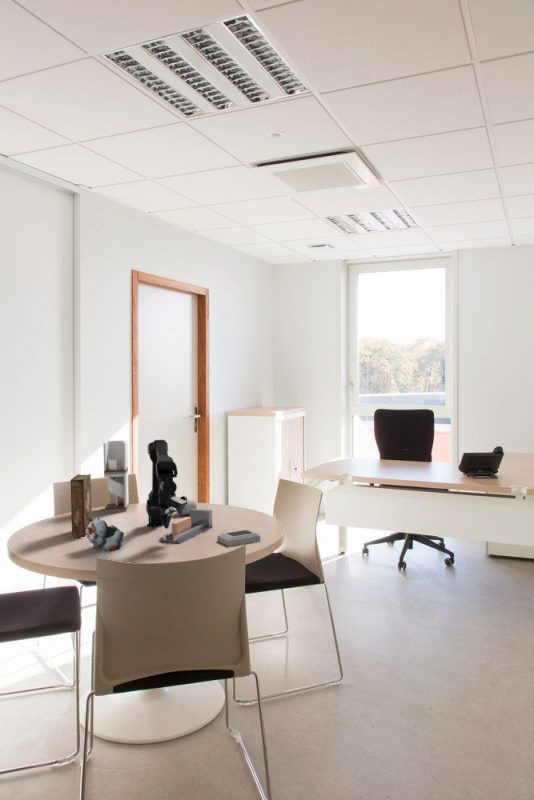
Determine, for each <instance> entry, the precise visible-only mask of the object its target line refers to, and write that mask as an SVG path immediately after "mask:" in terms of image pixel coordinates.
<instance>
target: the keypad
mask: <svg viewBox="0 0 534 800" xmlns="http://www.w3.org/2000/svg"><path fill="white" fill-rule="evenodd" d="M259 540H260V541H261V535H259V534H258V533H256V532H254V531H253V530H250V529H244V530H243V529H242V530H236V531H229V532H224V533H221V534H219V535H217V542H218V543H220V542H221V543H220V544H222V543H223V545H224V544H225V546H226V545H227V546H226V547H234V546H233V545H235V546H240V545H244V544H243V543H246V544H249V543H248V542H251V543H255V542H254V541H257V542H260V541H259ZM239 544H240V545H239Z"/></svg>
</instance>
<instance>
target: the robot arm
mask: <svg viewBox="0 0 534 800" xmlns="http://www.w3.org/2000/svg"><path fill="white" fill-rule="evenodd" d="M168 447H169V445H168V442H167V441H166V440H165V439H154V440H153V441H152V442H149V443H148V444H147V454H148V455H149V456H148V457H149V460H150V461H151V462H152V465H151V466H152V467H151V468H152V469H151V491H149V493H148V494H147V495H148V496H147V497H148V498H147V499H146V504H145V506H146V507H145V511H146V513H147V515H148V523H146V526H147V527H161V526H163V527H164V529H165V530H167V529H169V527H170V523H171V521H172V517H173V515H174V514H175V513H177V510H179V511H180V510H182V509H184V508H185V505H186V504H188V503H187V500H188V497H187V496H185V495H182V496H181V497H180V496H177V493H176V491H177V489H178V486H177V483H176V482H175V481H174V478H177V477H178V476H177V475H178V474H179V473H178V466H177V464H176V462H174V459H173V457H172V456H169V454H168V452H169V448H168Z"/></svg>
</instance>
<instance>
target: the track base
mask: <svg viewBox="0 0 534 800" xmlns="http://www.w3.org/2000/svg"><path fill="white" fill-rule="evenodd" d="M188 515H189V516H188V517H191V529H189V530H187V531H185V532H182V533H180V534H178V535H176V536H174V537H172V531H171V532H169V533H166V534H164V535H162V536H163V537H160V538H158V541H159V542H162V541H165V542H164V543H171V542H175V543H174V544H182V543H184V542H186V541H188V540H190V539H192V538H194V537H196V535H197V536H199V535H200V533H201V534H203V533H205V532H207V531H209V530H211V529H212V528H213V510H212V509H203V508H202V509H201V508H196V509H190V510H189V514H188ZM210 528H211V529H210ZM208 529H209V530H208ZM206 530H207V531H206ZM204 531H205V532H204ZM202 532H203V533H202ZM198 534H199V535H198ZM181 542H182V543H181Z"/></svg>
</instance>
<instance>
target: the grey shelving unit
mask: <svg viewBox="0 0 534 800" xmlns="http://www.w3.org/2000/svg"><path fill="white" fill-rule="evenodd" d="M128 445H129V443H128V440H106V441H104V442H103V477H104V478H107V490H108V491H109V503H107V504H106V506H105V507H104V512H105V513H112V512H113V513H114V512H115V513H116V512H119V513H120V512H122V513H123V512H127V511H128V509H129V507H130V502H129V501H130V499H129V496H130V495H129V452H128V451H129V450H128V448H129V446H128Z"/></svg>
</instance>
